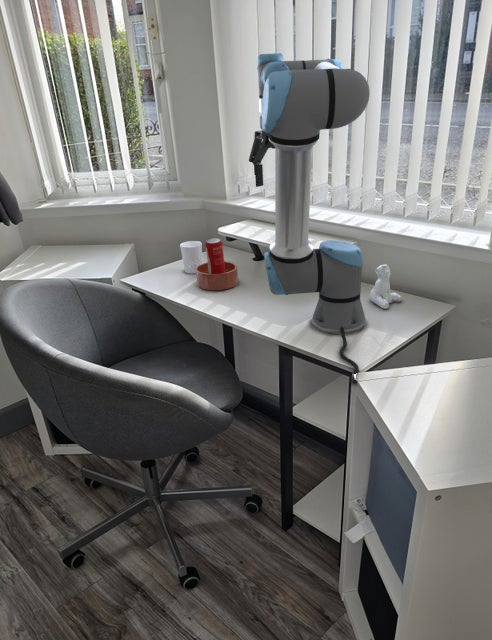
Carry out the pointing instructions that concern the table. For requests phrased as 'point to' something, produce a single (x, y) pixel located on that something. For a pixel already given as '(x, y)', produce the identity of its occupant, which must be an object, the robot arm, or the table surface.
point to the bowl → (217, 277)
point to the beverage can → (215, 256)
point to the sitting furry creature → (383, 288)
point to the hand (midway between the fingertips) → (274, 188)
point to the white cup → (191, 255)
